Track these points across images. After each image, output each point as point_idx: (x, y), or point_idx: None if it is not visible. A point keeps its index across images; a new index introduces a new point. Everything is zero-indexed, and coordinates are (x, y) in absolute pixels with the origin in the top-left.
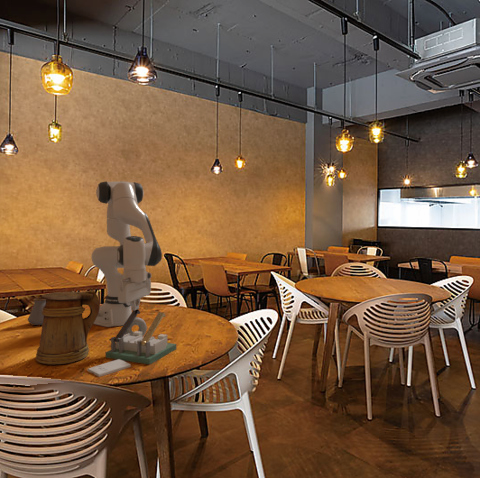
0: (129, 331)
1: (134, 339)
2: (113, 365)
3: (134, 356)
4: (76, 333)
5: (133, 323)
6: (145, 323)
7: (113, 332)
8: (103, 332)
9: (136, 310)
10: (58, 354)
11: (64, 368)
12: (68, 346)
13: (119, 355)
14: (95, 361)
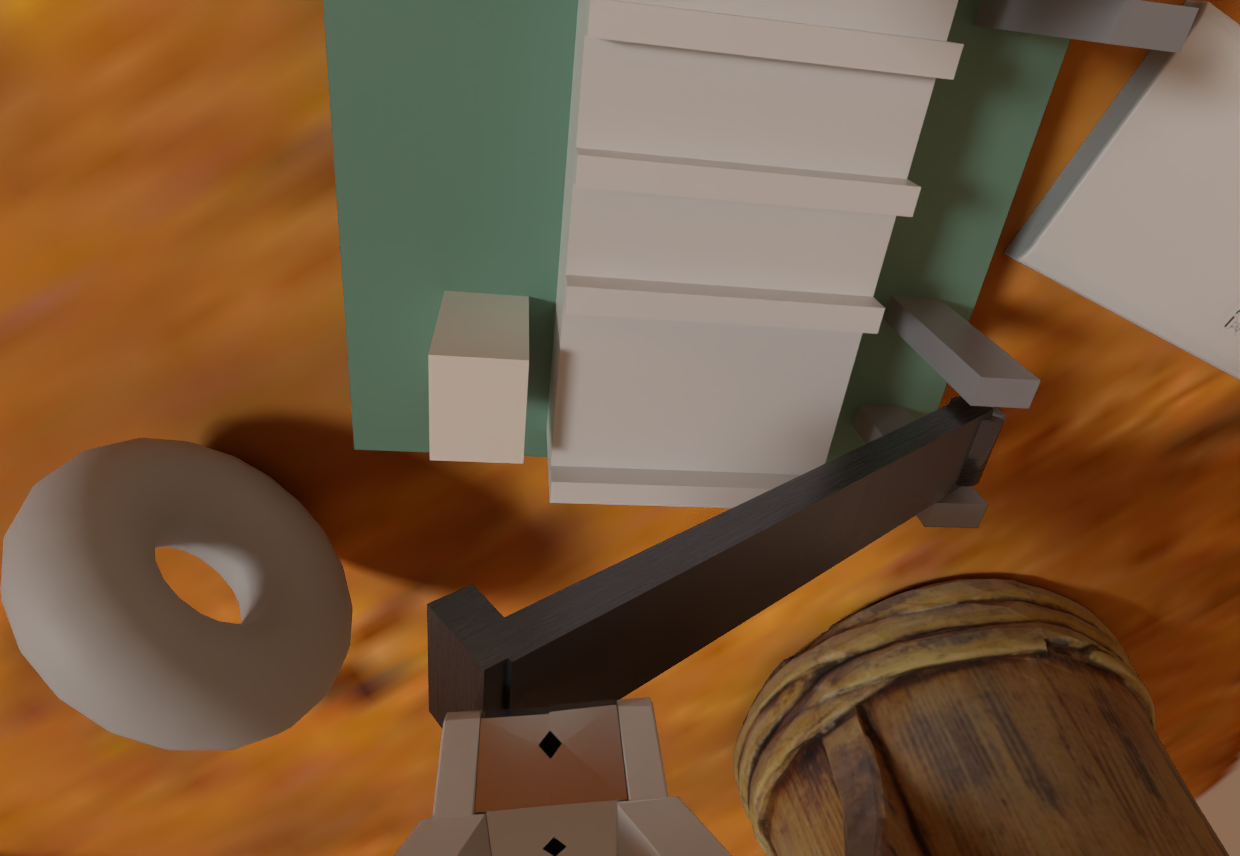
0: (318, 591)
1: (755, 292)
2: (1231, 193)
3: (1055, 59)
4: (1141, 821)
5: (237, 641)
6: (35, 528)
7: (164, 785)
8: (220, 841)
9: (513, 703)
10: (1147, 712)
11: (1167, 569)
12: (1142, 729)
13: (971, 290)
14: (1006, 458)
